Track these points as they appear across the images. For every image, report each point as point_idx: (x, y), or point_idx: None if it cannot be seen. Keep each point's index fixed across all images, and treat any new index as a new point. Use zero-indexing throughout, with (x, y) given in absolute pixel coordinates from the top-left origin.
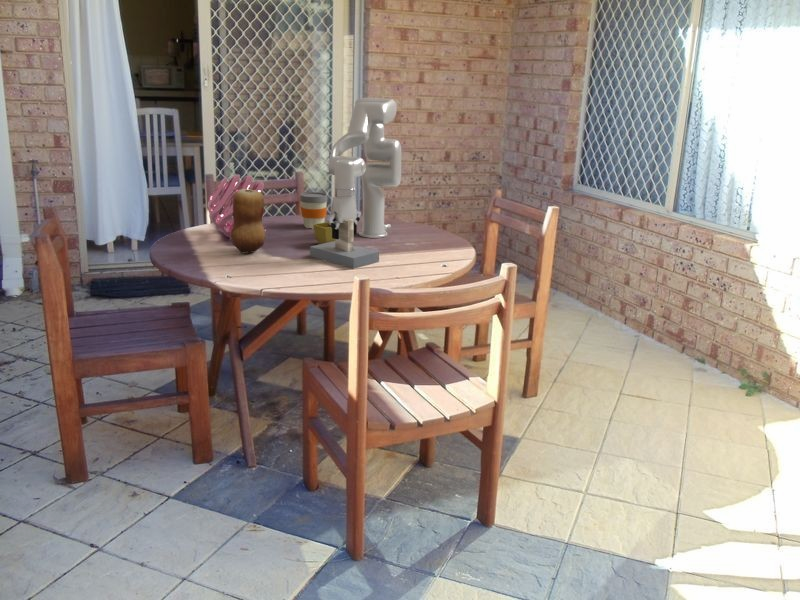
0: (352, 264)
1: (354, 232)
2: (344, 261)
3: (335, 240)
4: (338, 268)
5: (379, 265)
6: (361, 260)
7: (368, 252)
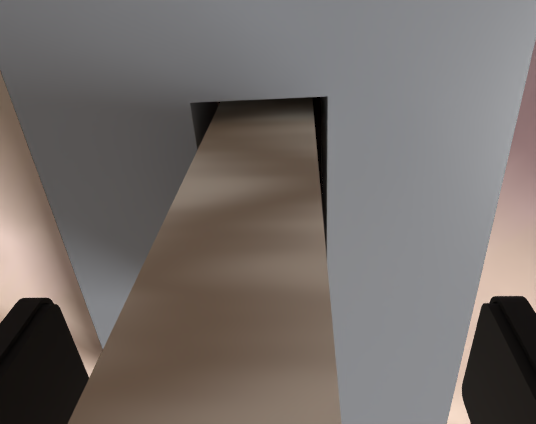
0: None
1: (477, 418)
2: None
3: (187, 177)
4: (69, 318)
5: None
6: None
7: (355, 419)
